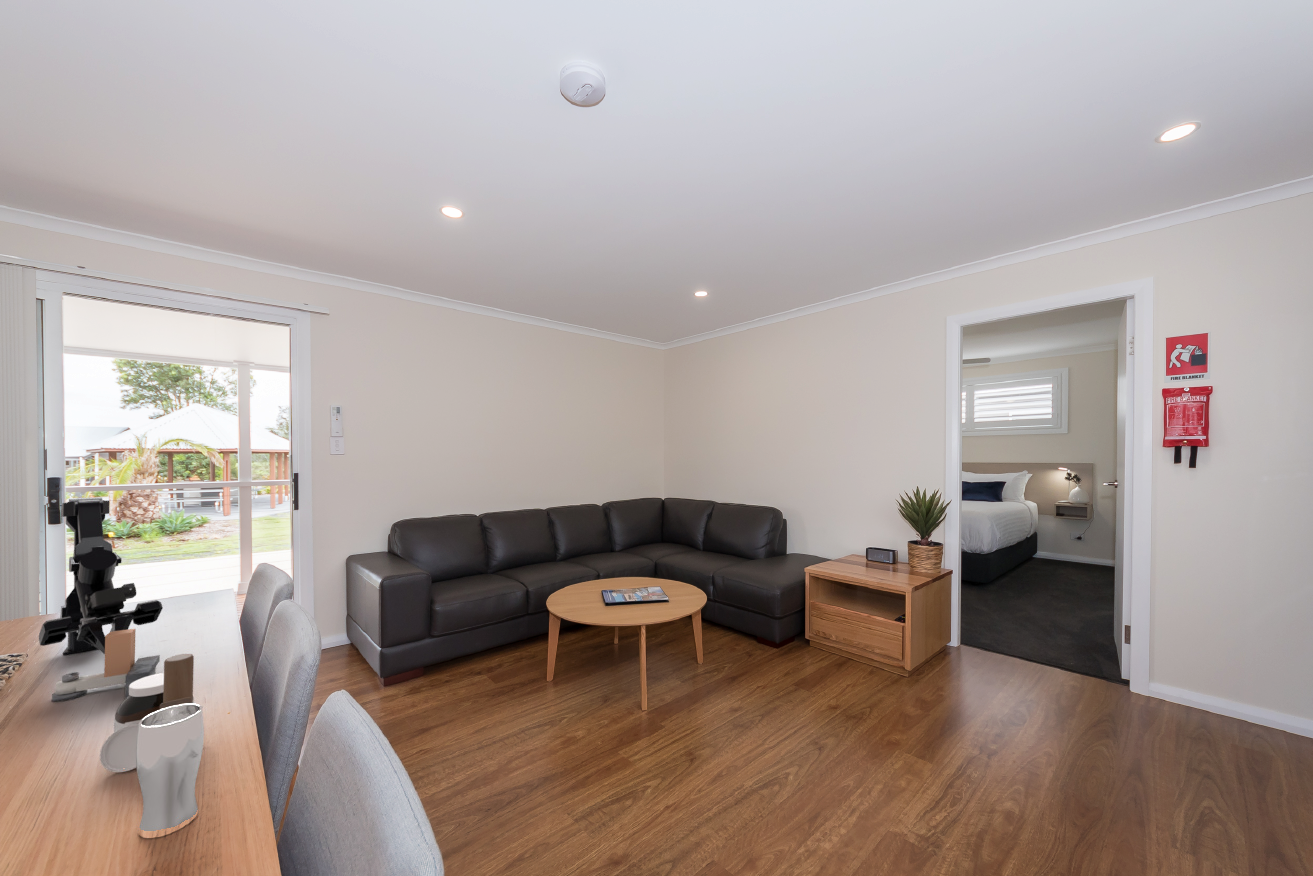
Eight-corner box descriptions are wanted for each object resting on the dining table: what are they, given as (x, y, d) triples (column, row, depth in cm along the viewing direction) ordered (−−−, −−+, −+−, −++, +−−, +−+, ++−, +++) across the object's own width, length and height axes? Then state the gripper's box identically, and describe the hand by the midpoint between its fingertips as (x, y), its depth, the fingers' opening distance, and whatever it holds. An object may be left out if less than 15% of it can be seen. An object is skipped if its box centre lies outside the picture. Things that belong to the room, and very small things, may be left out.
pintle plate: (54, 695, 110) (55, 674, 110) (89, 688, 113) (90, 667, 114) (48, 704, 106) (49, 682, 106) (84, 696, 110) (85, 675, 110)
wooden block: (157, 800, 78) (160, 678, 78) (161, 767, 86) (164, 656, 86) (190, 789, 80) (193, 671, 80) (191, 758, 88) (193, 650, 88)
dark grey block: (125, 700, 108) (125, 675, 108) (137, 681, 117) (138, 658, 117) (148, 695, 110) (148, 671, 110) (159, 677, 119) (159, 655, 119)
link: (51, 696, 107) (53, 643, 107) (60, 688, 111) (62, 637, 111) (150, 679, 115) (152, 630, 115) (156, 673, 118) (157, 625, 119)
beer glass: (213, 812, 75) (216, 707, 75) (154, 847, 68) (156, 731, 69) (182, 801, 77) (184, 699, 78) (121, 834, 71) (124, 722, 71)
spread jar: (188, 727, 98) (189, 665, 98) (201, 750, 91) (203, 682, 91) (94, 757, 88) (96, 687, 89) (101, 784, 81) (102, 708, 82)
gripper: (43, 583, 110) (57, 646, 105) (160, 566, 126) (177, 620, 121) (32, 614, 114) (45, 677, 108) (147, 594, 130) (163, 647, 125)
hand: (112, 653), depth 115 cm, fingers closed
